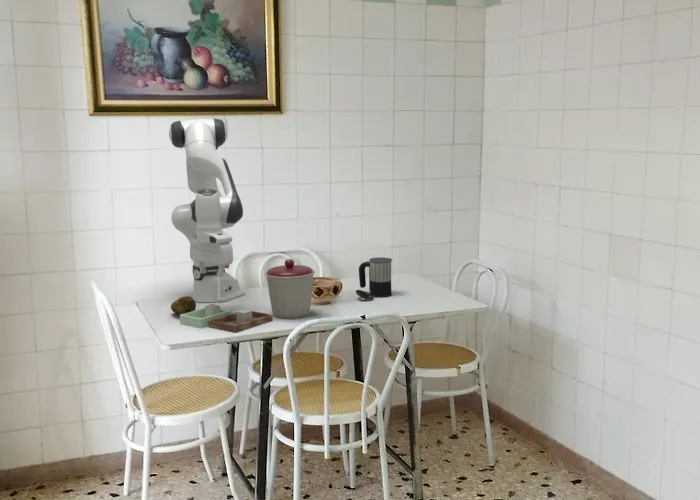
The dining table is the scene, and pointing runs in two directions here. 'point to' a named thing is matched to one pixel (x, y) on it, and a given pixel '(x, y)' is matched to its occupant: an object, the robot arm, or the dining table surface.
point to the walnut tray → (231, 324)
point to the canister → (290, 289)
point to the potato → (183, 305)
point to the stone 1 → (211, 310)
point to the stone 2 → (243, 316)
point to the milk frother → (376, 278)
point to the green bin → (200, 318)
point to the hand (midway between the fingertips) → (211, 274)
